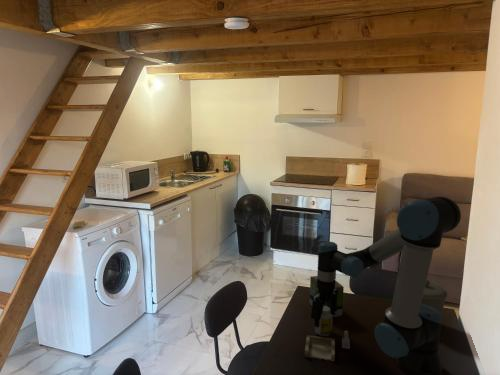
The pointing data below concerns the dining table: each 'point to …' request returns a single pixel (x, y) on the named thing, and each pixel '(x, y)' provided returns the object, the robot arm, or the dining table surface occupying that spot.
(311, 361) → the dining table surface
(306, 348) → the square tray
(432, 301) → the canister
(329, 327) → the pill bottle
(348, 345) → the clip
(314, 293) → the tea box
